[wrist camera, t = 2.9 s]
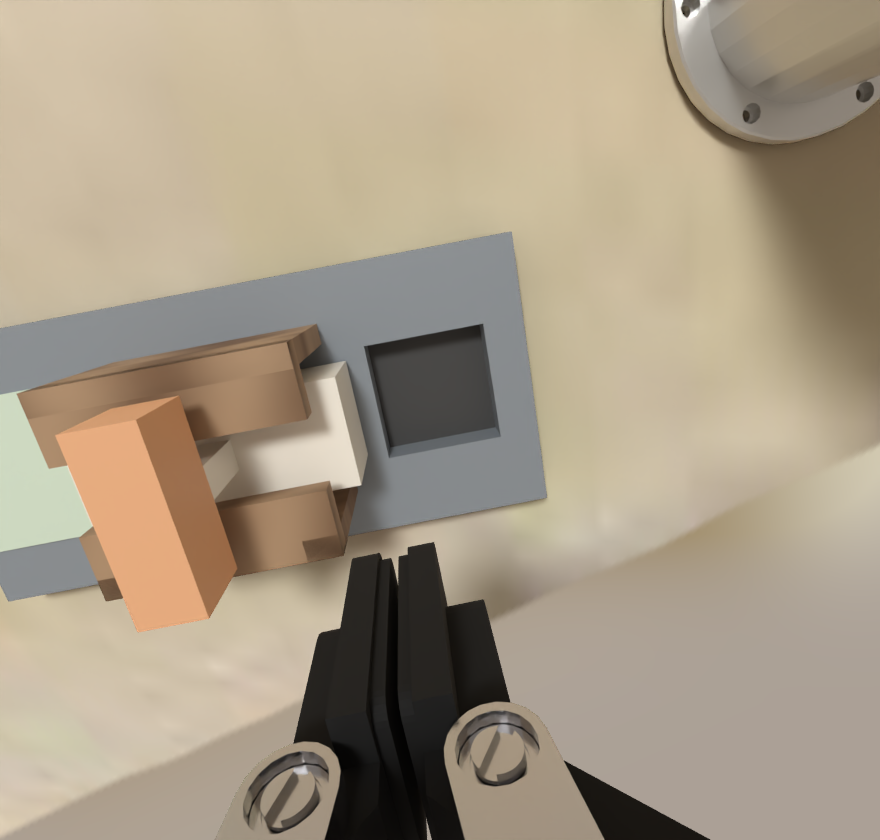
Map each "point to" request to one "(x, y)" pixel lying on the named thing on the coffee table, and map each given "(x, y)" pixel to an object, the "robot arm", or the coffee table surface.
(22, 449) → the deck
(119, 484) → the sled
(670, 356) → the coffee table surface
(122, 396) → the tunnel
